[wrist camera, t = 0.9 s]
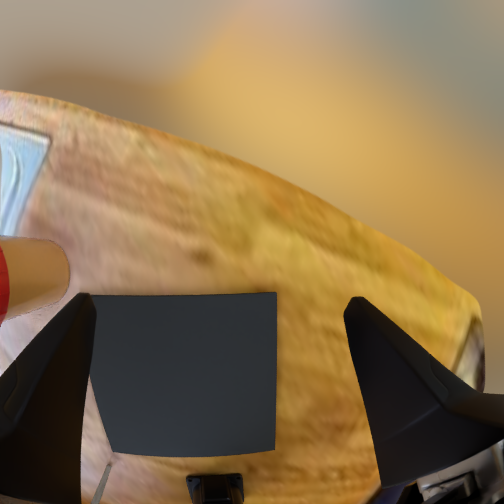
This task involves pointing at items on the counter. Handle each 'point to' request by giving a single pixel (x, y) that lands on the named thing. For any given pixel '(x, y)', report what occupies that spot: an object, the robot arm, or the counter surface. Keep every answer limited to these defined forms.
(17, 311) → the jam jar
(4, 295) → the jam lid
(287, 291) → the counter surface
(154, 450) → the mat
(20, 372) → the robot arm
